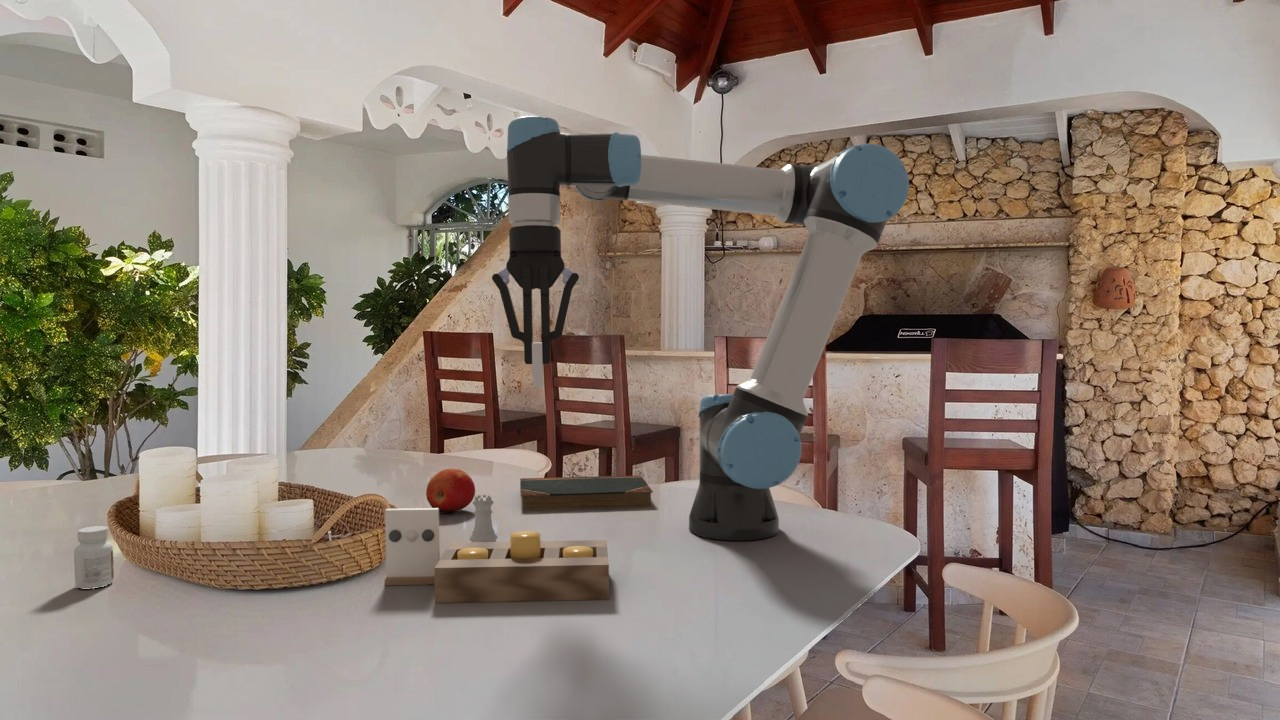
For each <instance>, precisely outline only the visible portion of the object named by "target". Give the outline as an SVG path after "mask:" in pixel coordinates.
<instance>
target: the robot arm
mask: <svg viewBox="0 0 1280 720" xmlns="http://www.w3.org/2000/svg"><path fill="white" fill-rule="evenodd" d="M506 143H507V147H506V160H507V163H506V164H507V166H506V167H507V188H508V197H507V199H508V200H507V201H508V207H507V208H508V223H509V224H510V225H511V226H512V227H510V229H509V230H508V235H509V237H508V238H509V240H508V242H509V246H508V247H509V256H508V260H507V262H506V264H505V265H506V267H505V268H504V269H502V270H500V271H499V272H498V273H494V274H492V276H491V279H492V281H493V283H494V284H495V286H496V287H497V289H498V290H499V294H500V297H501V301H502V305H503V308H504V313H505V316H506V320H507V324H508V327H509V332H510V335H511V337H512V338H513V339H517V340H519V341H522V343H523V354H524V355H523V356H524V357H523V358H524V363H525V365H531V366H532V367H531V369H532V370H531V371H532V372H531V373H532V374H531V375H532V388H544V365H549V364H550V362H551V343H552V341H553V340H556V339H559V338H561V337H562V335H563V332H564V326H565V323H566V319H567V313H568V309H569V304H570V301H571V296H572V292H573V289H574V287H575V285H576V284H577V282H578V281H579V277H580V276H579V274H578V273H577V272H573V270H572V271H571V270H570V269H569V268H567V267H566V265H565V262H564V260H563V258H562V241H561V240H562V238H561V237H562V235H561V229H560V227H558V226H557V225H559V224H560V223H561V195H560V194H561V190H560V188H561V186H565V187H570V186H575V188H576V189H577V191H578V192H579V194H581V196H583V197H584V198H586V199H588V200H591V201H603V200H607V199H608V200H618V201H632V202H641V203H642V202H644V203H651V204H661V205H669V206H679V207H680V206H681V207H686V208H687V207H688V208H690V207H691V208H696V209H697V208H699V209H706V210H707V209H708V210H717V211H724V212H725V211H726V212H735V213H737V212H738V213H745V214H755V215H765V216H774V217H775V218H776V219H777V221H778V222H779V223H782V224H791V225H798V226H804V227H805V228H806V231H807V232H808V233H807V234H808V236H807V239H806V241H805V243H804V246H803V248H802V250H801V254H800V255H799V258H798V261H797V263H796V266H795V267H794V270H793V272H792V273H793V274H792V275H791V278H790V280H789V282H788V285H787V287H786V290H785V293H784V295H783V298H782V300H781V303H780V305H779V307H778V310H777V312H776V315H775V316H774V319H773V322H772V324H771V327H770V329H769V332H768V334H767V338H766V340H765V341H764V344H763V347H762V349H761V352H760V354H759V357H758V360H757V361H756V364H755V366H754V369H753V371H752V374H751V377H750V378H749V379H748V380H746V381H744V382H741V383H739V384H737V385H736V387H735V389H734V392H733V393H726V394H708V395H705V396H703V397H702V398H701V399H700V403H699V411H698V418H699V484H698V487H697V491H696V494H695V497H694V500H693V503H692V505H691V509H690V512H689V516H688V517H689V518H688V530H689V531H690V532H691V533H692V534H694V535H696V536H700V537H704V538H707V539H714V540H720V541H721V540H723V541H739V542H740V541H756V540H762V539H767V538H770V537H774V536H775V535H777V534H778V533H779V531H780V529H779V528H780V526H779V525H780V519H779V513H778V512H777V511H778V510H777V508H776V506H775V502H774V499H773V495H772V492H771V488H773V487H776V486H778V485H781V484H782V483H785V481H787V480H788V479H789V478H790V477H791V476H792V475H793V474H794V472H795V471H796V469H797V468H798V466H799V464H800V461H801V458H802V451H803V450H802V449H803V448H802V440H801V434H802V431H803V428H804V425H805V423H806V421H807V418H808V416H809V412H808V410H807V408H806V405H805V403H804V398H805V396H806V394H807V392H808V388H809V386H810V384H811V381H812V380H813V379H812V378H813V376H814V374H815V372H816V369H817V368H818V364H819V362H820V360H821V357H822V355H823V352H824V350H825V347H826V345H827V342H828V340H829V337H830V335H831V333H832V330H833V327H834V325H835V323H836V320H837V318H838V316H839V313H840V310H841V308H842V305H843V302H844V301H845V298H846V295H847V293H848V290H849V289H850V285H851V283H852V281H853V279H854V276H855V273H856V270H857V269H858V266H859V263H860V262H861V260H862V259H861V258H862V257H863V255H864V254H865V253H867V252H869V251H872V250H873V249H876V248H877V246H878V244H879V242H880V239H881V237H882V234H883V233H884V230H885V228H886V226H887V225H886V224H887V222H888V220H890V219H892V218H893V217H895V216H896V215H897V214H898V212H900V211H901V209H902V208H903V207H904V205H905V203H906V202H907V199H908V196H909V191H910V182H909V181H910V179H909V175H908V172H907V170H906V167H905V166H904V163H903V161H902V160H901V159H900V157H899V156H898V155H897V154H896V153H895V152H893V151H892V150H891V149H889V148H887V147H885V146H883V145H880V144H876V143H863V144H862V143H861V144H858V145H857V144H856V145H851V146H849V147H846V148H845V149H843V150H842V151H840V152H839V153H838V154H837V155H835V156H833V157H832V158H829V159H828V160H826V161H824V162H820V163H815V164H805V165H804V164H803V165H801V164H789V163H788V164H786V165H785V166H784V167H782V168H779V169H776V168H767V167H761V166H760V167H758V166H751V165H739V164H732V163H731V164H730V163H724V162H723V163H720V162H713V161H712V162H711V161H704V160H696V159H695V160H694V159H685V158H684V159H683V158H678V157H677V158H676V157H674V158H673V157H667V156H665V157H664V156H658V155H646V154H642V148H641V141H640V139H639V137H638V136H637V135H636V134H628V133H627V134H626V133H620V132H614V133H566V132H561V129H560V127H559V123H558V121H557V120H556V119H554V118H552V117H548V116H540V115H529V116H528V115H525V116H520V117H517V118H514V119H513V120H511V121H510V122H509V124H508V126H507V142H506ZM561 274H562V283H563V284H565V285H564V287H563V290H562V295H561V298H560V299H561V300H560V304H559V309H558V313H557V317H556V322H555V327H554V330H552V331H551V315H550V314H551V313H550V312H551V311H550V310H551V309H550V289H551V288H552V287H553V286H554V285H555V283H556V282H557V280H558V279H559V278H560V276H561ZM510 275H511V277H512V278H513V280H514V281H515V282H516V284H518V286H519V287H520V288H521V289H522V310H523V311H522V313H523V314H522V315H523V317H522V318H523V320H522V321H523V331H522V330H520V326H519V322H518V319H517V315H516V311H515V306H514V304H513V299H512V295H511V292H510V289H509V287H508V285H509V284H510V282H511V281H510ZM536 289H538V290H539V291H540V321H541V322H540V323H541V324H540V326H541V328H540V329H541V341H540V342H539V341H537V342H534V338H533V337H534V333H533V331H534V330H533V327H534V326H533V324H534V323H533V290H536Z"/></svg>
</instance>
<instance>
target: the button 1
mask: <svg viewBox="0 0 1280 720" xmlns="http://www.w3.org/2000/svg"><path fill="white" fill-rule="evenodd" d="M457 556H458V560H467V559H488V550H487V549H484V548H466V549H462V550H459V551H458V552H457Z"/></svg>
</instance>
